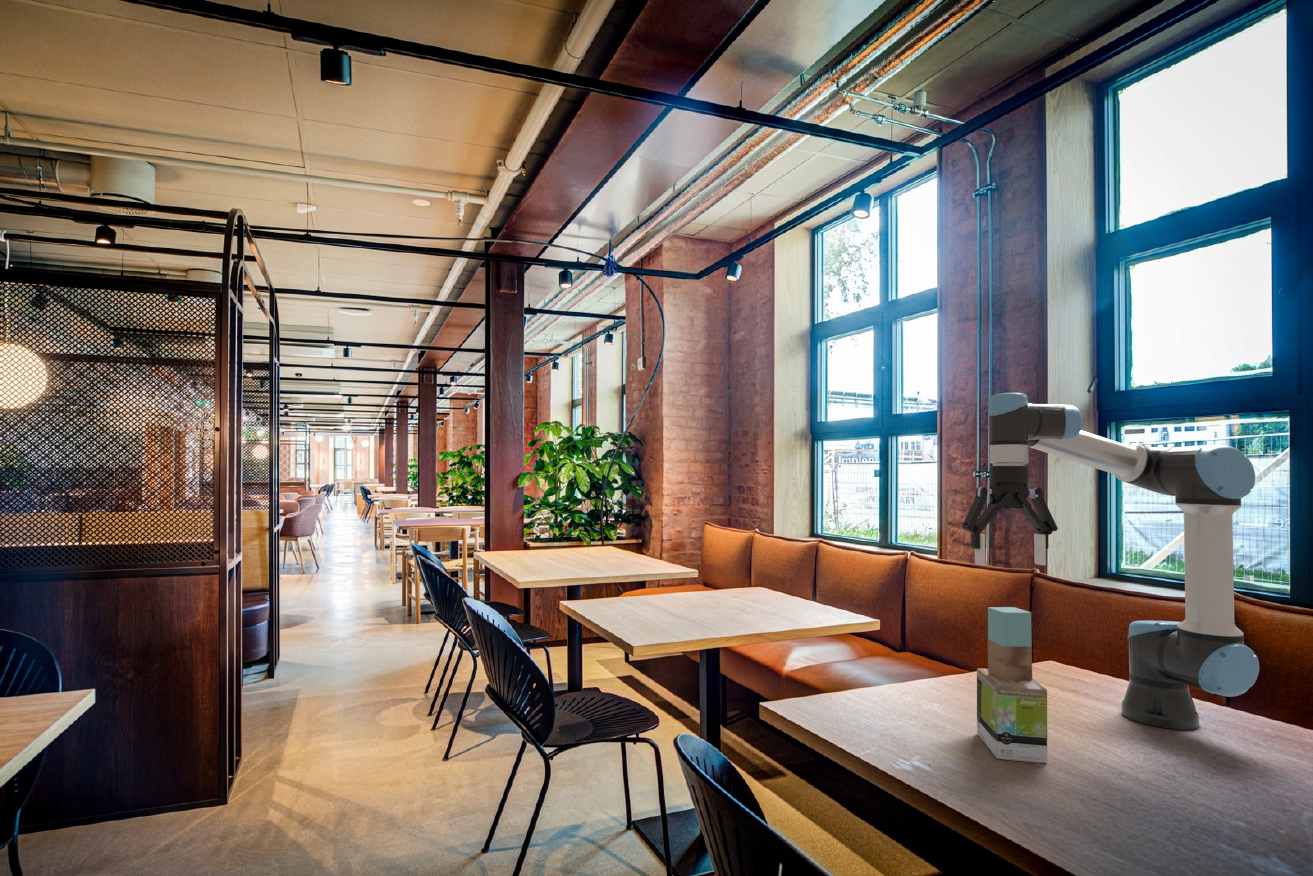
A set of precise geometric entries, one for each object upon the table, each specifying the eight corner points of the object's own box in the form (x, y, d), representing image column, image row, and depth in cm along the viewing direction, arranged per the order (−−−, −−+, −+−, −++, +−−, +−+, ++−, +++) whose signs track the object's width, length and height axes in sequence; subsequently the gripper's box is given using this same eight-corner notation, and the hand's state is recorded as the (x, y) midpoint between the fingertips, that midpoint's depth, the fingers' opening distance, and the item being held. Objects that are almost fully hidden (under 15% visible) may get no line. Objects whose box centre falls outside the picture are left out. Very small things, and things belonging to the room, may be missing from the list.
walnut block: (1013, 672, 153) (1013, 639, 154) (1032, 680, 147) (1031, 646, 148) (988, 673, 153) (987, 640, 153) (1005, 681, 147) (1005, 647, 147)
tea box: (1049, 764, 141) (1048, 688, 142) (995, 760, 143) (995, 685, 143) (1024, 737, 156) (1023, 669, 157) (975, 734, 157) (974, 666, 158)
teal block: (1014, 639, 154) (1014, 607, 154) (1031, 646, 148) (1031, 612, 148) (988, 640, 153) (987, 607, 154) (1004, 646, 147) (1003, 612, 148)
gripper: (1051, 466, 158) (1053, 562, 156) (944, 464, 155) (945, 562, 154) (1074, 465, 150) (1076, 566, 149) (962, 464, 148) (964, 566, 146)
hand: (1010, 564), depth 151 cm, fingers open, 13 cm apart
